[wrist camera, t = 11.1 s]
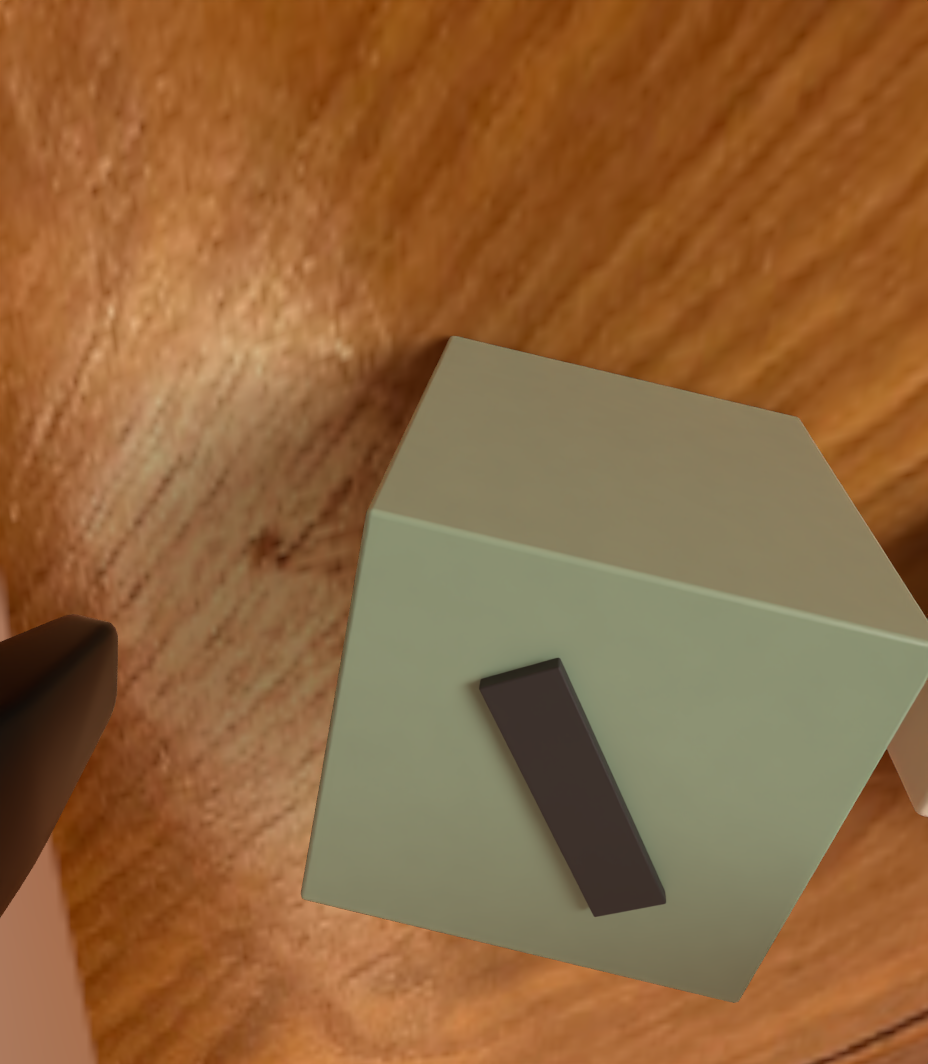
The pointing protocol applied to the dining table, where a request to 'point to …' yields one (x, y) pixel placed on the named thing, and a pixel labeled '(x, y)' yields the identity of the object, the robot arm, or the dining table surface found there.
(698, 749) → the green letter i block
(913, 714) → the beige letter tiles
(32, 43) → the dining table surface
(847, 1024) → the dining table surface
